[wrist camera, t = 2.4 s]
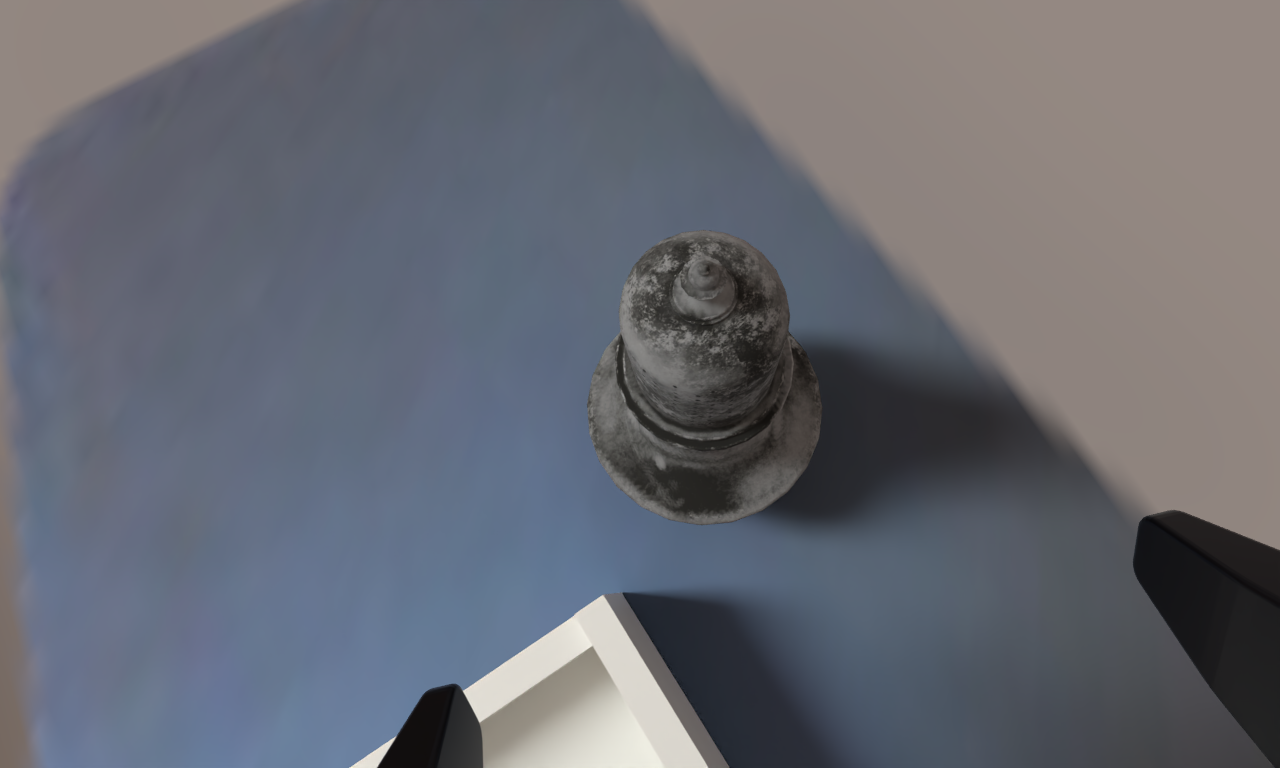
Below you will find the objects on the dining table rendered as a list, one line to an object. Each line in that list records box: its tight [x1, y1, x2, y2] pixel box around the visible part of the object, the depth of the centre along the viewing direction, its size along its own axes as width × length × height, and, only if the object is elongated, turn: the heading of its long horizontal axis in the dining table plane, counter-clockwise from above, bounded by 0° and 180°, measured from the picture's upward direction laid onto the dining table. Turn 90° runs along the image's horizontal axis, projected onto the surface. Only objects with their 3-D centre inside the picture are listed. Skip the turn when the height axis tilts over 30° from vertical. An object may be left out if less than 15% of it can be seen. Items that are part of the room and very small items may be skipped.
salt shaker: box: [587, 230, 822, 525], centre depth 16 cm, size 6×6×12 cm
